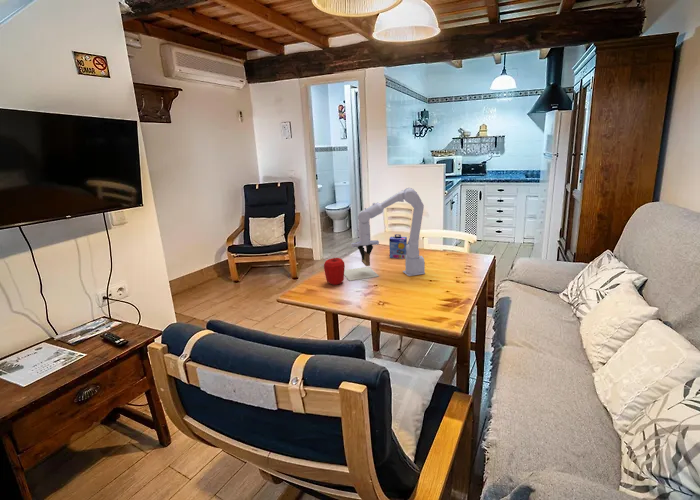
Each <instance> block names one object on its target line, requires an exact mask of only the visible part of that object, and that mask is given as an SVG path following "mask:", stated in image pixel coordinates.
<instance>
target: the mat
mask: <svg viewBox="0 0 700 500" xmlns="http://www.w3.org/2000/svg"><path fill="white" fill-rule="evenodd" d="M377 277H378V278H379V277H380V276H379V274H377V272H376V271H374V270H373V268H371V267H370V266H365V267H357V268H351V269H344V278H346V279H347V280H348V281H349V282H350V281H351V282H353V281H359V280H366V279H373V278H377Z"/></svg>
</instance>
